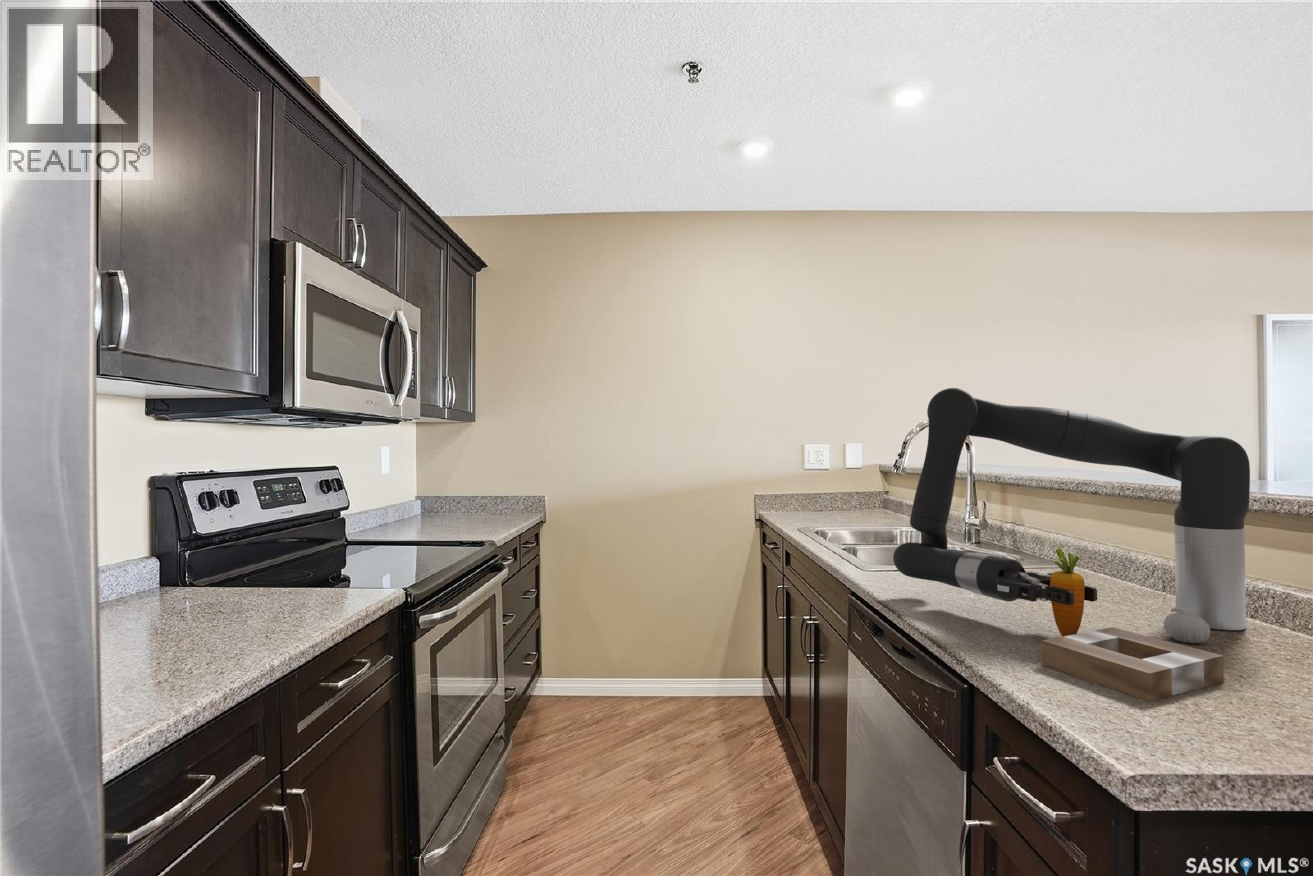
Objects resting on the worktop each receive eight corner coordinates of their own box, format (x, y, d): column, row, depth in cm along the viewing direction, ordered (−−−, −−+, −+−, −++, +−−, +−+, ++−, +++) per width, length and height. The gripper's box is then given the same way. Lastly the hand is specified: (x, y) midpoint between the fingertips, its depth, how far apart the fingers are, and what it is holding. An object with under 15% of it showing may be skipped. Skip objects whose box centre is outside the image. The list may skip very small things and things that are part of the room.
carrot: (1092, 648, 96) (1091, 553, 96) (1057, 647, 97) (1056, 552, 97) (1078, 638, 101) (1076, 547, 101) (1044, 637, 102) (1043, 546, 102)
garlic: (1155, 639, 101) (1155, 607, 101) (1171, 634, 104) (1170, 603, 104) (1201, 649, 96) (1201, 616, 96) (1216, 644, 98) (1216, 611, 98)
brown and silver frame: (1113, 649, 96) (1112, 627, 96) (1223, 681, 83) (1223, 655, 83) (1042, 664, 90) (1042, 640, 90) (1150, 701, 77) (1149, 673, 77)
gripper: (960, 558, 110) (1053, 577, 94) (1016, 552, 115) (1113, 569, 100) (960, 600, 110) (1053, 626, 94) (1017, 592, 115) (1114, 615, 99)
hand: (1083, 596), depth 97 cm, fingers closed on carrot, 5 cm apart
